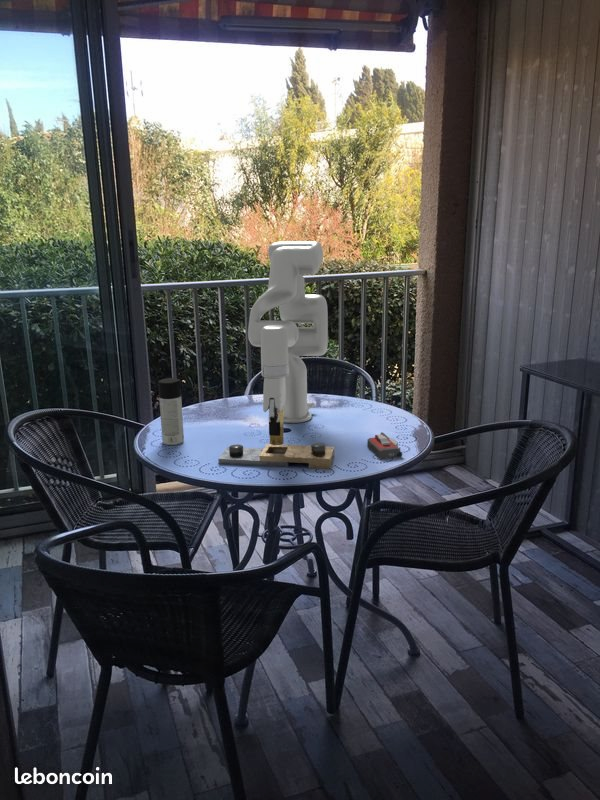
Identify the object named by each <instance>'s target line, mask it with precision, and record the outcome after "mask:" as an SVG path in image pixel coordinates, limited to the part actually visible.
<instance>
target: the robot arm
mask: <svg viewBox="0 0 600 800" xmlns="http://www.w3.org/2000/svg"><path fill="white" fill-rule="evenodd" d="M321 244H322V243H320V242H319V241H316V240H315V241H313V240H312V241H310V240H306V241H305V240H303V241H302V240H299V241H298V240H297V241H296V240H295V241H294V240H292V241H291V240H289V241H288V240H285V241H284V240H282V241H275V242H272V243H271V244H270V245H269V246H268V248H267V250H268V251H267V253H268V258H269V262H270V265H269V274H268V275H269V276H268V287H267V290H266V291H264V292H263V293H262V294H261V295H260V296H259V297H258V298H257V299H256V301H255V302H254V304H253V305H252V307H251V309H250V313H249V320H248V328H247V338H248V341H249V342H250V344H251V345H252V346H253V347H259V348H260V361H261V376H262V377H263V393H262V397H263V399H262V411H263V412H264V413H266V412H268V436H269V435H271V436H280V434H281V433H280V422H279V412H280V411H281V410H282V409H283V430H284V428H285V427H284V424H285V423H287V424H290V423H291V424H296V423H297V424H298V423H305V422H307V421H310V420H311V419H312V415H313V414H312V412H310V411H309V410H310V409H312V408H315V406H316V404H315V402H313V401H311V402H308V381H307V380H308V376H307V374H308V370H307V366H306V364H305V362H304V361H303V359H302V358H301V357H304V356H305V357H309V356H310V357H314V356H315V357H320V356H323V355H325V354H326V353H327V351H328V345H329V342H328V341H329V330H328V328H329V324H328V322H329V321H328V319H329V318H328V316H329V315H328V314H329V313H328V311H329V310H328V303H327V300H326V298H325V296H323V295H322V294H312V293H311V294H310V293H309V294H306V292H305V289H306V288H305V283H306V281H305V277H304V275H312V276H313V275H316V274H318V272H319V270H320V268H321V267H322V263H323V259H324V251H323V250H324V249H323V246H322V245H321ZM277 307H278V308H279V311H278V312H279V317H280V319H281V320H272V319H271V320H265V319H264V320H263V319H262V317H263V316H264V314H266V313H267V312H269V311H270V310H272V309H275V308H277ZM261 319H262V320H261ZM297 324H311V325H313V327H310V326H309V327H306V326H304V327H303V326H302V327H301V326H297ZM275 409H277V411H274V410H275ZM275 414H277V416H276V415H275Z"/></svg>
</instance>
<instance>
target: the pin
mask: <svg viewBox="0 0 600 800" xmlns="http://www.w3.org/2000/svg"><path fill="white" fill-rule="evenodd" d="M274 411H277V409H275V410H274ZM275 415H276V416H277V414H275ZM279 422H280V433H281V434H280V436H271V435H269V434H268V436H269V444H271V445H284V440H285V439H284V429H283V424H284V422H283V409H282V410H281V411H280V412H279Z"/></svg>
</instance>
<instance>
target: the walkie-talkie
mask: <svg viewBox="0 0 600 800" xmlns="http://www.w3.org/2000/svg"><path fill="white" fill-rule="evenodd" d="M366 443H367V444H366V446H367V448H368V449H369V450H370V451H371V452H372V453H373V454H374V455H375V456H376V457H377V458H378V459H380V460H382V459H383V460H384V459H394V458H399V457H403V452H402V451H401V449H400V447H399V442H398V441H397V440H396V439H395V438H393V437H392V438H390V437H389V436H388V435H387V434H386V433H384V432H382V431H381V432H380V434H375V436H374V437H369V438H367V442H366Z"/></svg>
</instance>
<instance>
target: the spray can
mask: <svg viewBox="0 0 600 800" xmlns="http://www.w3.org/2000/svg"><path fill="white" fill-rule="evenodd" d="M157 385H158V399H159V410H160V412H159V413H160V414H159V415H160V424H161V425H160V426H161V427H160V428H161V437H162V443H163V445H167V446H177V444H178V445H181V444H182V443H184V440H185V437H184V435H185V434H184V433H185V432H184V422H183V421H184V420H183V406H182V402H183V401H182V391H181V379H179V378H177V377H167V378H163V379H160V380H158V384H157Z"/></svg>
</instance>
